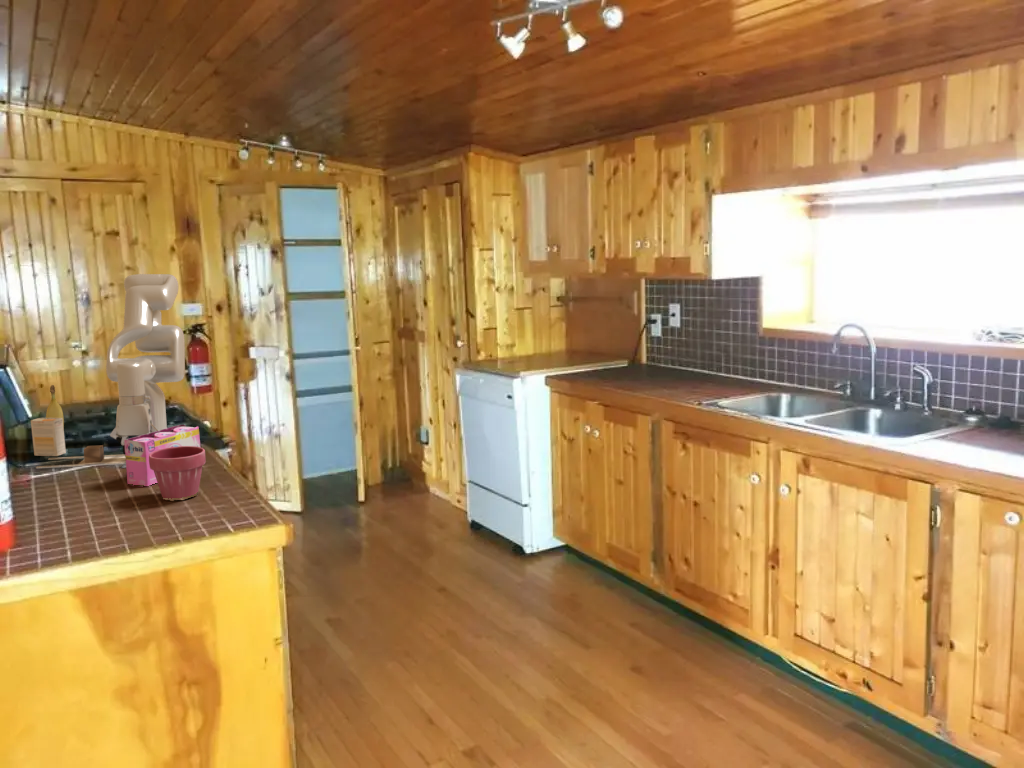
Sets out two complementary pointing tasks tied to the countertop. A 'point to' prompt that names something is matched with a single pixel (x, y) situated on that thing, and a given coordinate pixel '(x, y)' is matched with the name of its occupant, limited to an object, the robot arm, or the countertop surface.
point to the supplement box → (48, 436)
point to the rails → (84, 464)
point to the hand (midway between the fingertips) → (136, 455)
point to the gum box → (148, 443)
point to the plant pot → (178, 470)
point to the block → (93, 454)
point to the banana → (54, 407)
